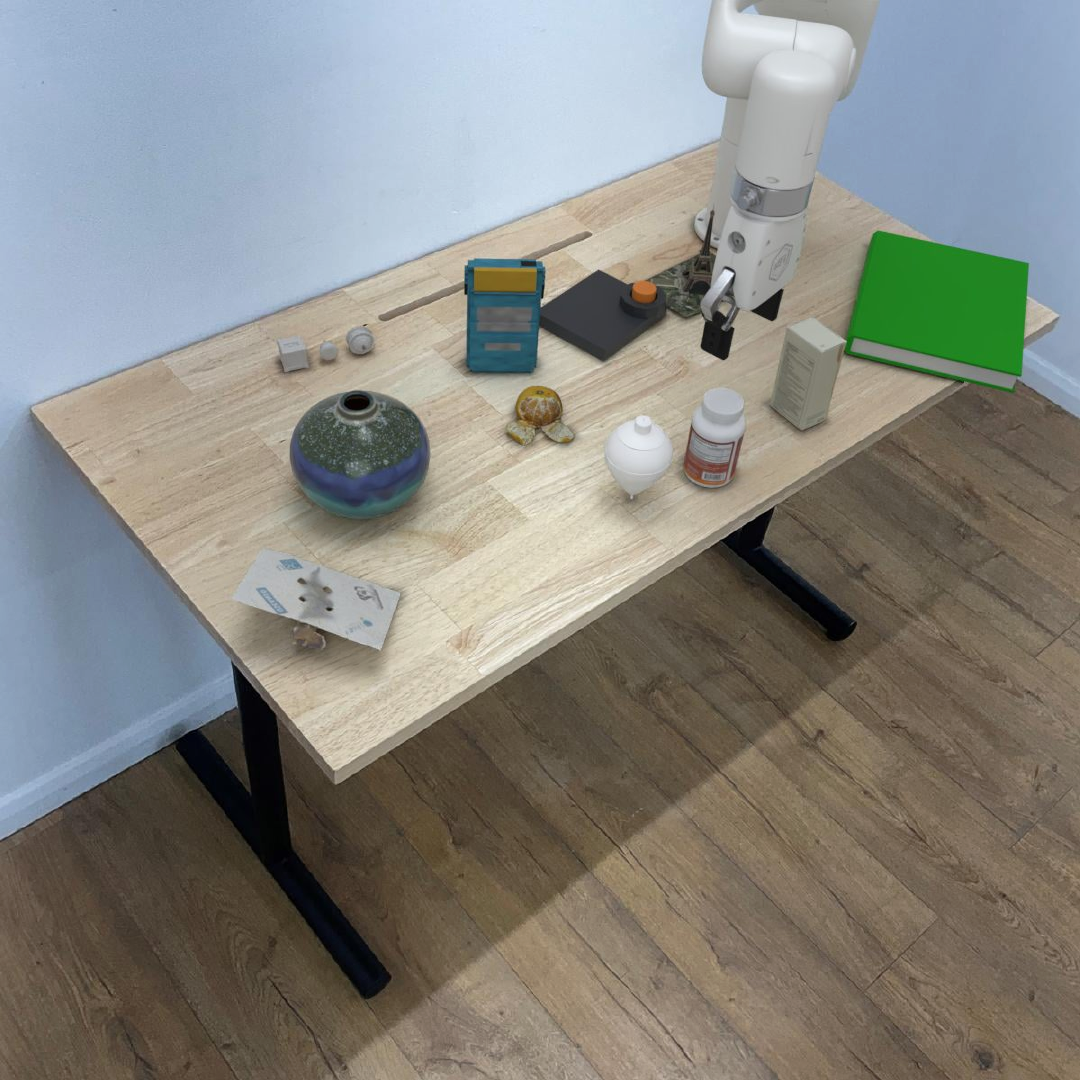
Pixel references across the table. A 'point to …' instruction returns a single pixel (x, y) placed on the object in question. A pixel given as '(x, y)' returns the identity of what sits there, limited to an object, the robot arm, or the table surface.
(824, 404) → the cosmetic box
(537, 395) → the fruit
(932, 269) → the book
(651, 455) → the spinning top
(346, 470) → the vase
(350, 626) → the card
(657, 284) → the eiffel tower figurine
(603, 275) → the dark grey button base
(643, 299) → the button
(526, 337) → the teal case
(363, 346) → the toy set
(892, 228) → the table surface
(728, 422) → the pill bottle
